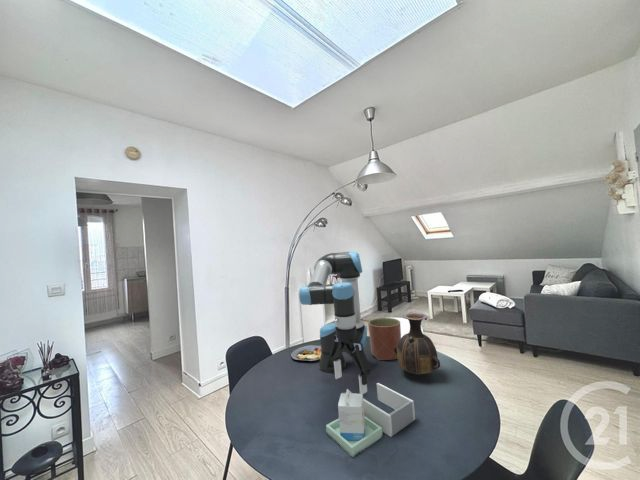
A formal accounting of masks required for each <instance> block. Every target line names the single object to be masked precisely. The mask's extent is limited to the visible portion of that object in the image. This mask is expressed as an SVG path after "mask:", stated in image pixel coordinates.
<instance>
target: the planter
mask: <svg viewBox="0 0 640 480" xmlns="http://www.w3.org/2000/svg"><path fill="white" fill-rule="evenodd" d="M367 324H368V325H367V327H368V336H369V344H370V352H371V356H373V357H374V358H376V360H378V361H387V360H388V361H391V360H398V359H397V354H396V353H395V351H394V349H395V347H396V346H398V343H399V341H400V339H401V338H402V331H401V321H400V320H399V319H396V318H391V317H377V318H372V319H370V320H368V322H367ZM396 350H397V348H396Z"/></svg>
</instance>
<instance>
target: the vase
mask: <svg viewBox="0 0 640 480" xmlns="http://www.w3.org/2000/svg"><path fill="white" fill-rule="evenodd" d="M402 318H403V319H406V320H408V323H409V332H407V333H405V334H403V336H402V335H401V339H400V341H399V343H398V346H396V347H395V349H394V351H395V353H396V354H397V359H396V360H397V362H398V365H399V367H400V368H401V369H402V370H404V371H406V372H407V373H410V374H414V375H426V374H431V373H432V372H434V371H436V370H437V369H439V368H441V361H440V359H439V357H438V352H437V349H436V345H435V344H434V342H433V341H432V339H431V338H430V337H428V336H427V335H426V334H424V333H423V331H422V321H423V320H424V321H427V320H428V315H427V314H424V313H423V312H421V313H420V312H407V313H404V314H402ZM396 348H397V350H396Z"/></svg>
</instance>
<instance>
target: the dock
mask: <svg viewBox="0 0 640 480" xmlns="http://www.w3.org/2000/svg"><path fill="white" fill-rule="evenodd" d="M376 394H377V395H376V397H377V400H378V401H379V402H381V403H383V404H384V405H386V406H387V407H389V408H391V409H393V411H392V412H389V413H387V412H386V411H384V410H383V409H381V408H380V407H378V406H376V405H375V404H373V403H372V402H370V401H368V400H367V399H366V398H363V404H364V416H365V417H367V418H368V419H370V420H371V421H373V422H374V423H375V424H377V425H378V426H380V427H381V428H382V433H384V434H386V435H387V436H389V437H390V438H391V437H393V436H394V435H396V434H397V433H399V432H400V431H401V430H402V429H404V428H406V427H407V426H408V425H410V424H412V422H414V421H415V420H416V412H415V403H414V400H413V399H412V398H409V397H407V396H405V395H403V394H401V393H399V392H397V391H395V390H393V389H391V388H389V387H387V386H386V385H383V384H381V383H380V382H377V383H376Z"/></svg>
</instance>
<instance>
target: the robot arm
mask: <svg viewBox="0 0 640 480" xmlns="http://www.w3.org/2000/svg"><path fill="white" fill-rule="evenodd" d="M362 267H363V266H362V261H361V258H360V254H359V253H358V252H357V251H343V252H330V253H328V254H325V255H323V256H321V257H319V259H317V261H316V262H315V263H314V265H313V274H312V275H311V278H310V281H309V283H308V285H305V286H304V285H303V286H301V287H300V288H299V291H298V296H299V297H298V298H299V302H300V304H301V305H302V306H303V305H305V306H306V305H307V306H313V305H333V310H334V311H333V312H334V322H331V323H326V324H324V325H323V326H321V328H319V340H320V345H321V357H320V359H319V361H318V368H319V370H320V371H322V372H325V373H334V379H335V380H338V379H340V378H342V376H343V373H342V371H343V370H344V369H345V368H346V366H347V363H346V359H345V357H344V354H343V353H346V354H347V355H349V357H350V358H351V359H352V362H353V363H354V365H355V367H356V369H357V370H358V373H359V374H358V384H359V394H361V395H362V394H363V395H364V394H366V393H368V376H369V375H371V374H372V369H371V367H370V364H369V362H368V359H367V356H366V353H365V351H364V348H366V346H367V341H368V340H367V339H368V338H367V337H368V334H367V333H368V328H367V327H368V325H365V323H364V321H363V320H361V319H362V317H361V304H360V293H359V282H358V279H359V278H360V277H361V274H362V273H363V268H362ZM330 275H338V278H339V279H340V280H341V282H337V283H334V284H328V283H327V282H328V280H329V279H328V278H329V277H330Z"/></svg>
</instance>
